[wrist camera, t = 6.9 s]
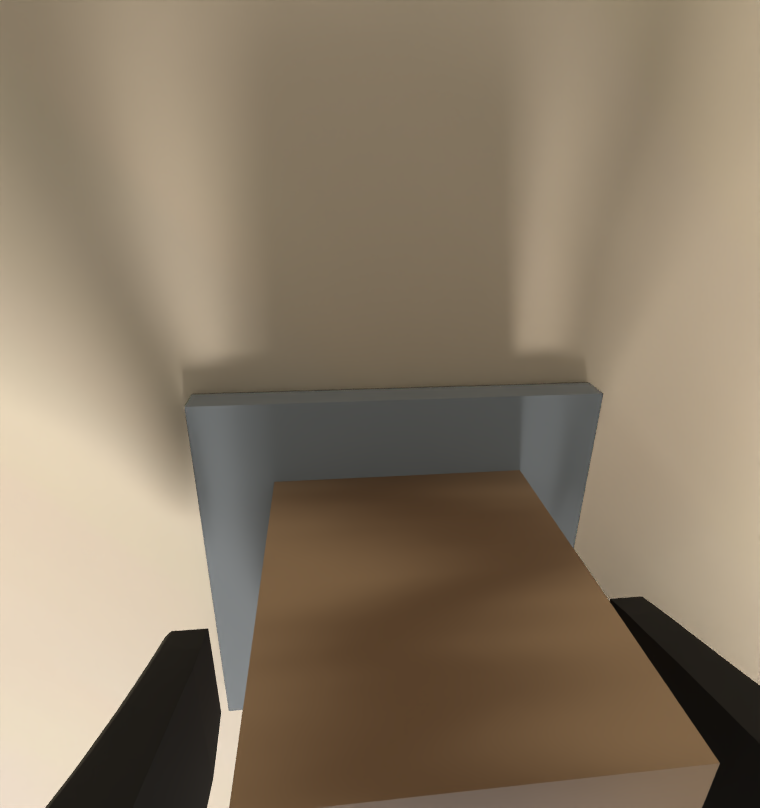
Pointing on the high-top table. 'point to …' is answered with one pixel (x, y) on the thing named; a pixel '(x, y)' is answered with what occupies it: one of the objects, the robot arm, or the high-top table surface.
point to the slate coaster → (366, 465)
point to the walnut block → (448, 660)
